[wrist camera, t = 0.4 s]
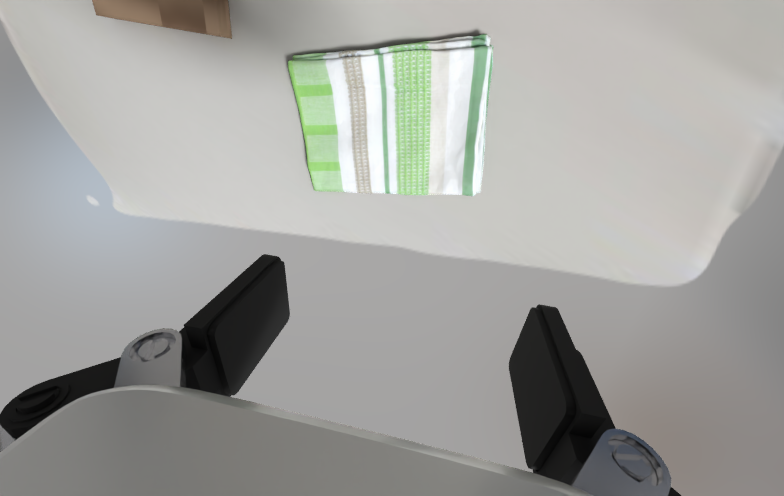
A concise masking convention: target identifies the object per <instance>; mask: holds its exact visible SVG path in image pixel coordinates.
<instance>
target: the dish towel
mask: <svg viewBox="0 0 784 496" xmlns="http://www.w3.org/2000/svg"><path fill="white" fill-rule="evenodd" d="M490 40H491V37H490V36H487V35H486V34H483V35H479V36H474V37H473V36H465V37H455V38H449V39H443V40H437V41H425V42H418V43H409V44H401V45H395V46H389V47H384V48H378V49H369V50H351V51H348V50H346V51H340V52H333V53H315V54H306V55H294V56H293V60H292V61H288V69H289V73H290V77H291V81H292V85H293V89H294V93H295V97H296V101H297V105H298V109H299V114H300V118H301V124H302V129H303V134H304V139H305V146H306V153H307V164H308V169H309V172H310V176H311V180H312V184H313V187H314V190H315V191H337V192H351V193H389V194H403V195H441V194H448V195H467V196H475V194H476V193H480V192H481V183H482V173H483V164H484V153H485V131H486V117H487V107H488V98H489V89H490V82H491V74H492V67H493V53H492V52H493V45H490Z"/></svg>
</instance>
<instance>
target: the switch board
mask: <svg viewBox="0 0 784 496" xmlns="http://www.w3.org/2000/svg"><path fill="white" fill-rule="evenodd" d="M92 1H93V5H94V9H95V12H96V15H98V16H104V17H109V18H114V19H120V20H126V21H132V22H138V23H144V24H149V25H155V26H161V27H167V28H173V29H179V30H184V31H190V32H196V33H202V34H208V35H214V36H220V37H225V38H231V39H232V34H231V24H230V14H229V4H228V0H92Z"/></svg>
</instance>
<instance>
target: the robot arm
mask: <svg viewBox="0 0 784 496" xmlns="http://www.w3.org/2000/svg"><path fill="white" fill-rule="evenodd" d="M289 315H290V312H289V302H288V293H287V283H286V275H285V265H284V262H283V261H281V259H280V258H279V257H277V256H272V255H266V254H264V255H262V256H261V257H260V258H259V259H258V260H256V261H255V262H254V263H253V264H252V265H251V266H250V267H249V268H247V269H246V270H245V271H244V272H243V273H242V274H241V275H239V276H238V277H237V278H236V279H235V280H234V281H233V282H232V283H231V284H229V285H228V286H227V287H226V288H225V289H224V290H223V291H222V292H220V294H218V295H217V296H216V297H215V298H214V299H212V300H211V301H210V302H209V303H208V304H207V305H206V306H205V307H204V308H202V309H201V310H200V311H199V312H198V313H197V314H196V315H194V316H193V318H191V319H190V320H189V321H188V322H187V323H186V324H184V328H183V329H182V330H181V331H179V332H178V331H177V330H173V329H165V328H163V329H157V330H153V331H150V332H148V333H145V334H143V335H141V336H139V337H137V338H136V339H134V340H133V341H132V342H130V343H129V344H128V345H127V346H126V348H125V349H124V351H123V353H122V356H121V357H120V358H117V359H114V360H111V361H108V362H104V363H101V364H98V365H95V366H92V367H89V368H85V369H82V370H79V371H76V372H73V373H70V374H66V375H63V376H60V377H57V378H54V379H50V380H48V381H45V382H42V383H40V384H37V385H35V386H33V387H31V388H29V389H27V390H25V391H24V392H22V393H21V394H19V395H18V396H17V397H15V398H14V399H12V400H11V402H9V404H7V405H6V406H5V408H4V409H3V411H2V412H1V414H0V496H681V495H680V494H679V493H678V492H676V491H675V490H674V489H673V488H671V476H670V473H669V470H668V468H667V466H666V464H665V463H664V461H663V460H662V458H661V457H660V456H659V455H658V454H657V453H656V451H655V450H654V449H653V448H652V447H651V446H649V445H648V444H647V443H646V442H645V441H644V440H642V439H640V438H639V437H637V436H636V435H634V434H632V433H630V432H627V431H625V430H621V429H616V428H615V426H614V424H613V422H612V420H611V417H610V415H609V413H608V411H607V409H606V406H605V405H604V402H603V400H602V398H601V396H600V394H599V391H598V389H597V387H596V385H595V382H594V380H593V378H592V376H591V374H590V372H589V369H588V367H587V365H586V363H585V361H584V359H583V356H582V355H581V353H580V352H579V351H578V350H576V349H575V347H574V344H573V342H572V340H571V337H570V335H569V333H568V331H567V329H566V326H565V324H564V322H563V320H562V318H561V315H560V313H559V311H558V309H557V308H556V307H550V306H545V305H538V306H537V307H536V308H531V310H530V312H529V314H528V317H527V319H526V321H525V324H524V326H523V329H522V331H521V333H520V336H519V338H518V341H517V343H516V345H515V348H514V350H513V353H512V355H511V358H510V361H509V371H510V376H511V382H512V387H513V392H514V398H515V404H516V409H517V415H518V420H519V426H520V431H521V436H522V442H523V448H524V453H525V459H526V463H527V466H528V468H530V469H533V473H531V472H527V471H523V470H520V469H517V468H513V467H509V466H505V465H502V464H498V463H494V462H490V461H487V460H483V459H479V458H476V457H472V456H467V455H464V454H460V453H456V452H452V451H448V450H444V449H440V448H436V447H432V446H428V445H424V444H420V443H416V442H413V441H409V440H405V439H401V438H397V437H392V436H388V435H384V434H381V433H376V432H372V431H368V430H364V429H360V428H356V427H352V426H348V425H344V424H340V423H336V422H331V421H328V420H324V419H320V418H316V417H312V416H308V415H303V414H299V413H295V412H291V411H287V410H283V409H279V408H274V407H270V406H266V405H262V404H258V403H254V402H250V401H245V400H241V399H237V398H232V397H230V396H231V395H235V394H236V393H237V392H238V391H239V390H240V388H241V387H242V385H243V384H244V383H245V381H246V380H247V378H248V377H249V376H250V374H251V373H252V371H253V370H254V369H255V367H256V366H257V364H258V363H259V361H260V360H261V359H262V357H263V356H264V354H265V353H266V352H267V350H268V349H269V347H270V346H271V344H272V343H273V342H274V340H275V339H276V337H277V336H278V335H279V333H280V332H281V330H282V329H283V327H284V326H285V325H286V323H287V322H288V319H289Z"/></svg>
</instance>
